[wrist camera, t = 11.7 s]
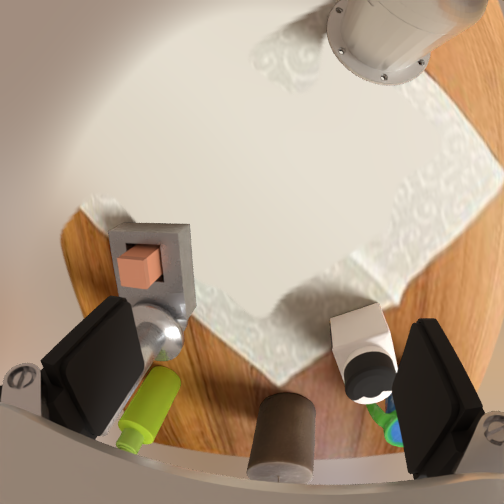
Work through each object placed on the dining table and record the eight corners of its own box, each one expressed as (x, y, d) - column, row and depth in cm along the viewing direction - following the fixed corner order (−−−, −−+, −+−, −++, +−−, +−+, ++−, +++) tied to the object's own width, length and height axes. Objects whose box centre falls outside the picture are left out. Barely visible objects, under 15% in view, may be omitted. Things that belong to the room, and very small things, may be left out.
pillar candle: (258, 391, 47) (240, 466, 33) (318, 392, 46) (316, 470, 32) (261, 425, 51) (246, 493, 37) (314, 427, 49) (310, 497, 35)
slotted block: (123, 222, 41) (5, 292, 20) (189, 224, 39) (84, 311, 19) (142, 334, 47) (69, 432, 27) (200, 343, 45) (142, 459, 25)
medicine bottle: (328, 317, 41) (333, 377, 29) (378, 300, 39) (399, 357, 27) (342, 355, 42) (348, 417, 31) (388, 340, 40) (406, 399, 29)
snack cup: (350, 393, 45) (355, 442, 35) (383, 345, 41) (397, 394, 31) (423, 407, 44) (435, 450, 35) (457, 365, 40) (478, 407, 31)
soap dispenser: (178, 397, 51) (136, 484, 33) (146, 377, 51) (94, 459, 32) (191, 382, 49) (148, 476, 30) (157, 360, 49) (101, 449, 30)
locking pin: (145, 238, 41) (117, 258, 34) (169, 239, 40) (143, 260, 33) (148, 262, 42) (121, 285, 35) (171, 264, 42) (146, 289, 35)
